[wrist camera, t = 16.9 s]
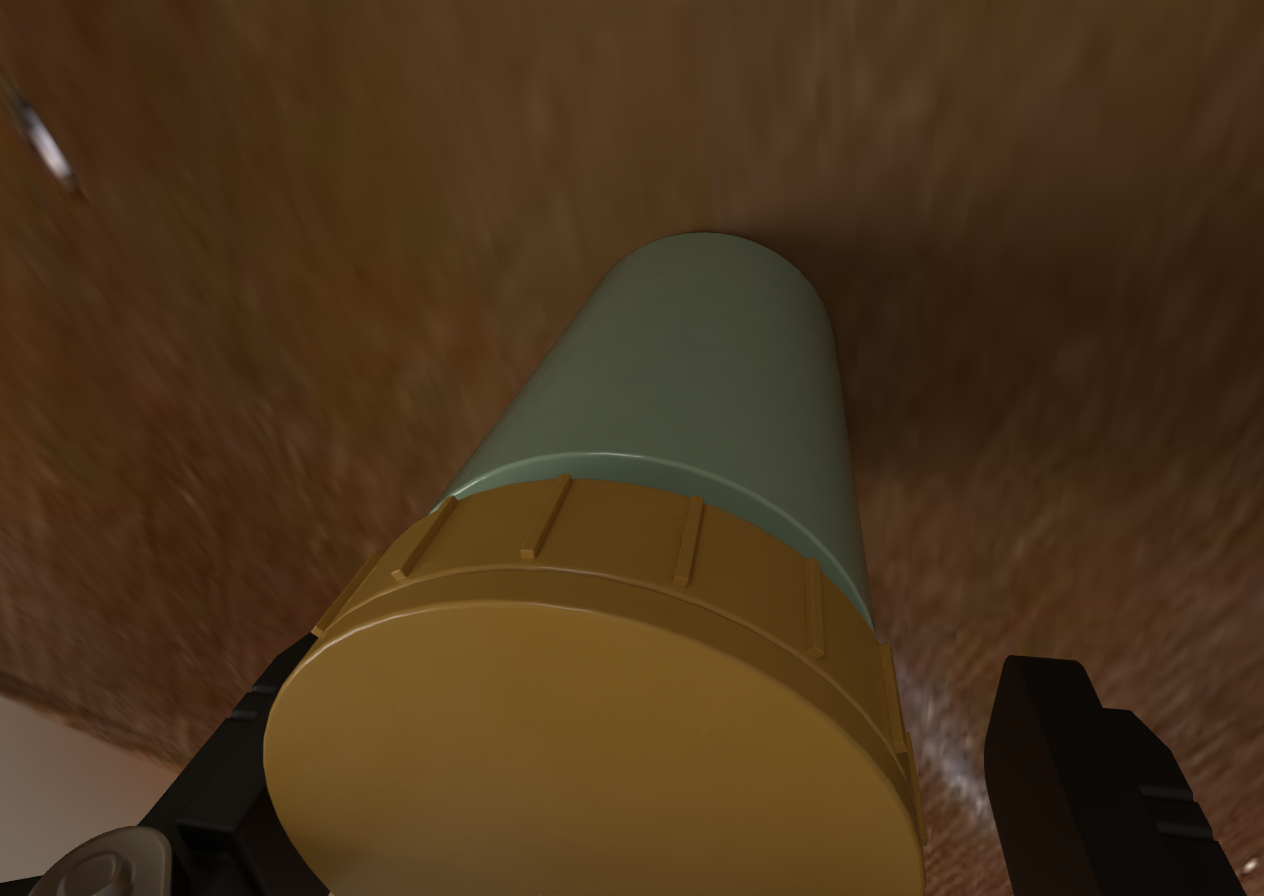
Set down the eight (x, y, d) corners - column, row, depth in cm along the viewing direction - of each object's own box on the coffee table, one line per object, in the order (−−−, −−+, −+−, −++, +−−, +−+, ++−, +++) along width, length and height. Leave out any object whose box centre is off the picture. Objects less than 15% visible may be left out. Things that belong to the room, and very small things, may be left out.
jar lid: (380, 819, 10) (308, 956, 8) (318, 426, 7) (193, 534, 5) (833, 923, 9) (841, 1092, 8) (984, 535, 6) (1043, 692, 5)
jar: (769, 506, 18) (747, 992, 9) (549, 419, 18) (303, 820, 9) (886, 294, 15) (1030, 698, 6) (623, 188, 15) (369, 437, 6)
